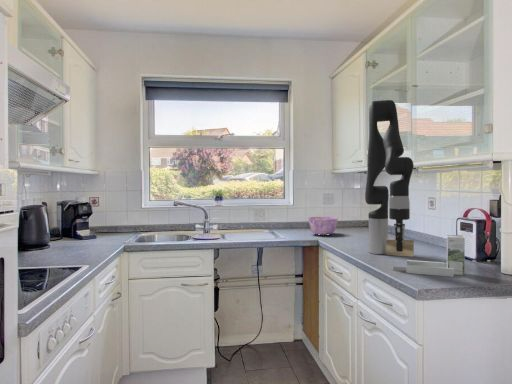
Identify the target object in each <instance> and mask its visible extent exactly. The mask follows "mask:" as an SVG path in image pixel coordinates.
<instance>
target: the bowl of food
mask: <svg viewBox="0 0 512 384" xmlns="http://www.w3.org/2000/svg"><path fill="white" fill-rule="evenodd" d="M307 219H308V223H309V227H310V230H311V232H312V233H313V234H315V235H317V234H320V235H327V234H329V235H331V234H333V233H334V232H335V231H336V229H337V224H338V220H339V218H338V217H333V216H311V217H307Z"/></svg>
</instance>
